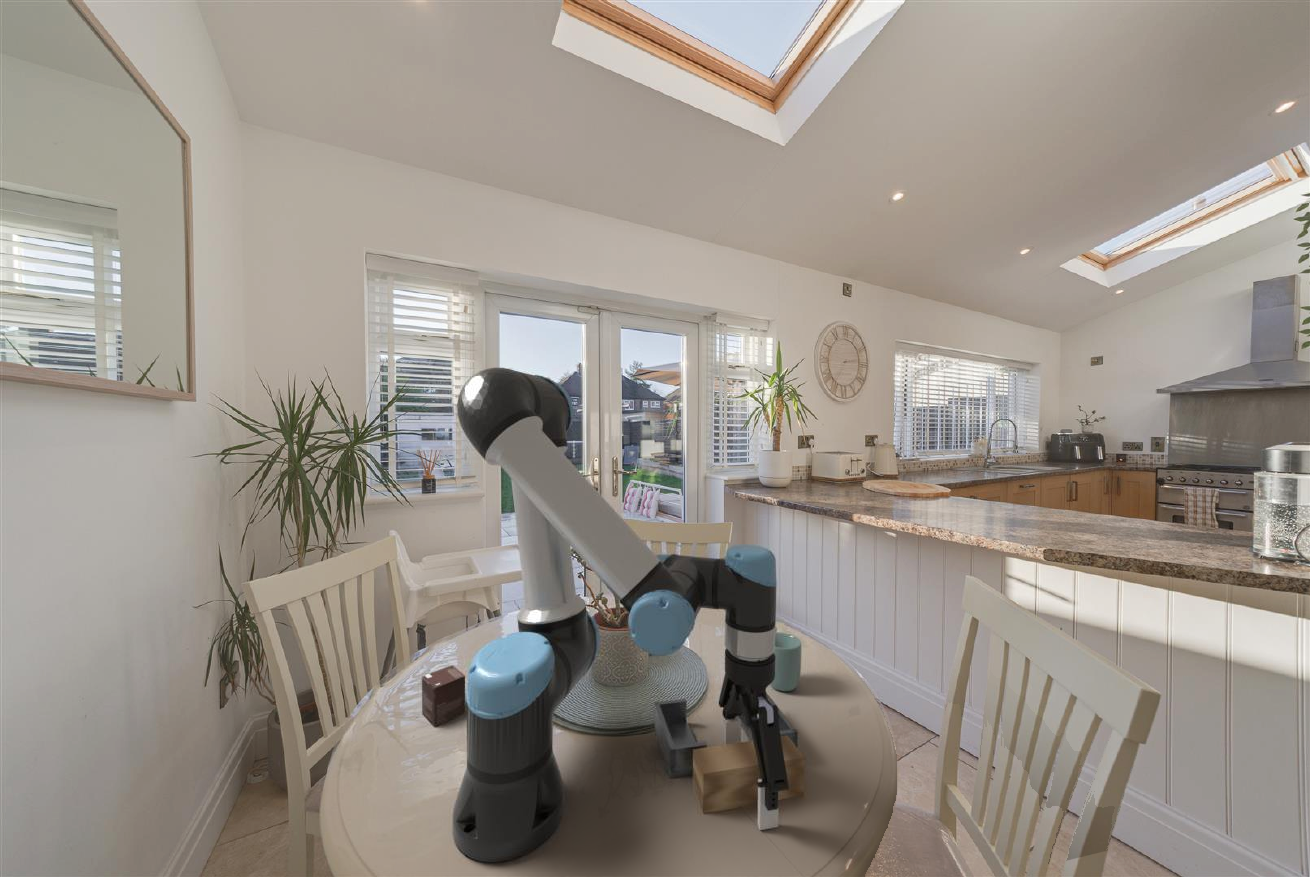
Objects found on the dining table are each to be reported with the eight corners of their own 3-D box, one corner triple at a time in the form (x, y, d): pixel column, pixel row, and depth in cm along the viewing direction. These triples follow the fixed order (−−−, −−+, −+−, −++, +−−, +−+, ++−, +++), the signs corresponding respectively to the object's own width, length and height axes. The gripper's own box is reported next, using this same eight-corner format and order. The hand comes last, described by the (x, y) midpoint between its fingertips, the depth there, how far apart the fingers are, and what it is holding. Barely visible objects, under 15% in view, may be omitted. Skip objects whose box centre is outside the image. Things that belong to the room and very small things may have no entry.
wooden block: (702, 815, 64) (703, 773, 64) (692, 788, 69) (693, 749, 69) (803, 796, 68) (804, 757, 67) (787, 772, 72) (787, 735, 72)
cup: (803, 698, 92) (803, 650, 92) (764, 694, 94) (764, 646, 93) (798, 678, 100) (799, 634, 100) (762, 674, 101) (763, 630, 101)
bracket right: (763, 712, 87) (764, 689, 87) (797, 758, 75) (797, 731, 75) (734, 716, 86) (735, 692, 86) (764, 763, 74) (764, 736, 74)
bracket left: (670, 778, 71) (670, 750, 70) (653, 726, 83) (654, 702, 83) (706, 772, 72) (707, 744, 72) (685, 722, 84) (685, 698, 84)
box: (466, 713, 86) (466, 675, 86) (433, 728, 82) (433, 688, 82) (452, 700, 90) (452, 664, 90) (421, 713, 86) (421, 676, 86)
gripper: (817, 693, 57) (815, 860, 57) (740, 615, 81) (739, 733, 81) (763, 700, 55) (761, 871, 55) (701, 618, 79) (700, 738, 79)
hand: (748, 789), depth 68 cm, fingers open, 12 cm apart
